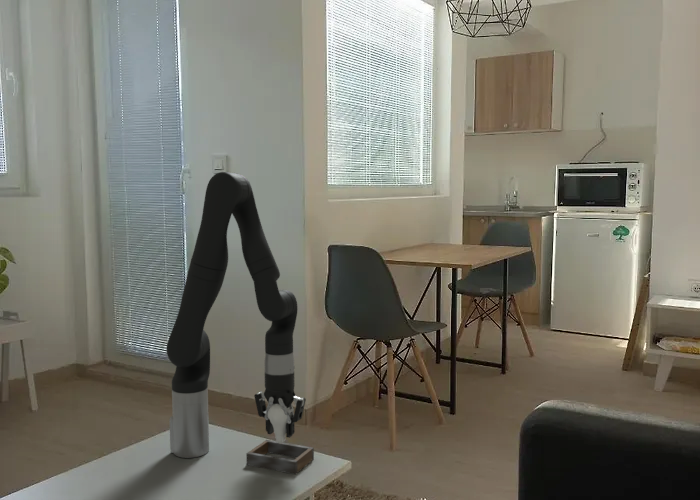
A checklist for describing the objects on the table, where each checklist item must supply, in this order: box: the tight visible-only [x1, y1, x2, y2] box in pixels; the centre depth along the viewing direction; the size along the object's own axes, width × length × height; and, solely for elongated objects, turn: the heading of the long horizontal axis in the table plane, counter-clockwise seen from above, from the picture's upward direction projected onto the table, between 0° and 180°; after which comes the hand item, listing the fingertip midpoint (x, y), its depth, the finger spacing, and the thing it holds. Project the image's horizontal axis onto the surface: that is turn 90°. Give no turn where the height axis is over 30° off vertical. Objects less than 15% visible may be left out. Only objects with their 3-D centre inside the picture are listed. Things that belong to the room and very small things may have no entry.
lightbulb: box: [268, 404, 292, 444], centre depth 174 cm, size 6×6×11 cm
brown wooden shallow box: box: [245, 439, 315, 475], centre depth 174 cm, size 14×10×3 cm
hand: (280, 434), depth 174 cm, fingers closed on lightbulb, 5 cm apart
